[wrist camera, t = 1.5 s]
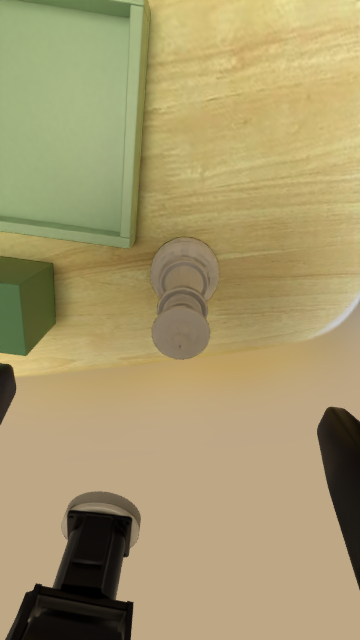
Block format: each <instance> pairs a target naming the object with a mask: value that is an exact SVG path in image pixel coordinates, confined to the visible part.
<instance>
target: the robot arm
mask: <svg viewBox="0 0 360 640" xmlns="http://www.w3.org/2000/svg"><path fill="white" fill-rule="evenodd" d="M15 393H16V383H15V377H14V372H13V367H12V366H11V365H9V364H2V363H0V424H1V423H2V420H3V418H4V416H5V414H6V412H7V410H8V408H9V406H10V404H11V402H12V400H13V398H14V395H15ZM317 435H318V440H319V445H320V450H321V455H322V460H323V465H324V470H325V475H326V480H327V484H328V488H329V492H330V496H331V499H332V502H333V505H334V508H335V512H336V515H337V518H338V521H339V524H340V528H341V531H342V534H343V537H344V541H345V544H346V547H347V551H348V554H349V557H350V560H351V563H352V567H353V570H354V573H355V577H356V579H357V583H358V586H359V589H360V421H359V420H357V419H356V418H355V417H354V416H353V415H351V414H350V413H349V412H348V411H346V410H345V409H343V408H338V407H328V408H327V409H326V411H325V413H324V415H323V417H322V419H321V421H320V423H319V425H318V429H317ZM131 530H132V518H131V517H130V516H123V515H115V514H106V513H97V512H88V511H80V510H69V511H68V514H67V536H68V543H67V546H66V549H65V552H64V555H63V558H62V561H61V564H60V567H59V570H58V573H57V576H56V579H55V582H54V585H53V588H50V587H45V586H42V584H36V585H35V587H34V590H32V591H30V592H26V594H25V596H24V599H23V602H22V604H21V606H20V609H19V611H18V614H17V616H16V618H15V621H14V623H13V625H12V627H11V629H10V631H9V633H8V635H7V637H6V639H5V640H131V628H132V615H133V602H130V601H127V602H123V601H118V600H116V595H117V590H118V584H119V578H120V573H121V567H122V561H123V557H128V556H129V550H130V540H131Z"/></svg>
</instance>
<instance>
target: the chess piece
mask: <svg viewBox="0 0 360 640" xmlns="http://www.w3.org/2000/svg"><path fill="white" fill-rule="evenodd" d="M150 280H151V284H152V287H153V289H154V291H155V293H156V294H157V296H158V297H159V298H160V299H159V302H158V306H157V315H158V316H157V318H156V319H155V321H154V323H153V326H152V339H153V342H154V344H155V346H156V347H157V349H158V350H159V351H160V352H161V353H162V354H164V355H166V356H168V357H170V358H173V359H182V360H184V359H189V358H192V357H195V356H197V355H198V354H200V353H201V352H202V351H203V350H204V349H205V347H206V346H207V344H208V342H209V339H210V328H209V323H208V322H207V320H206V318H207V314H208V307H207V303H206V301H207V300H208V299H209V298H211V296H212V295H213V294H214V292H215V291H216V288H217V285H218V283H219V266H218V261H217V258H216V256H215V254H214V252H213V251H212V250H211V249H210V248H209V246H208V245H206V244H205V243H203V242H202V241H200V240H198V239H195V238H191V237H179V238H175V239H172V240H170V241H168V242H166V243H165V244H164V245H163V246H162V247H161V248H160V249H159V250H158V251H157V253H156V255H155V256H154V258H153V261H152V265H151V270H150Z"/></svg>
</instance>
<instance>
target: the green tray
mask: <svg viewBox="0 0 360 640" xmlns="http://www.w3.org/2000/svg"><path fill="white" fill-rule="evenodd" d="M149 26H150V7H149V3H148V0H0V231H2V232H10V233H17V234H24V235H32V236H39V237H46V238H54V239H61V240H68V241H76V242H83V243H90V244H98V245H105V246H112V247H120V248H127V249H129V248H130V247H131V246H132V245H133V243H134V242H135V237H136V222H137V207H138V192H139V177H140V162H141V147H142V132H143V117H144V101H145V86H146V71H147V56H148V41H149Z"/></svg>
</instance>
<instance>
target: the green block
mask: <svg viewBox="0 0 360 640" xmlns="http://www.w3.org/2000/svg"><path fill="white" fill-rule="evenodd" d="M55 323H56V322H55V302H54V281H53V264H52V263H45V262H38V261H30V260H23V259H16V258H8V257H1V256H0V353H7V354H15V355H23V356H26V355H27V354H28V353H29V352H30V351H31V350H32V349H33V348H34V347H35V346H36V344H37V343H38V342H39V341H40V340H41V339H42V338H43V337H44V336H45V334H46V333H47V332H48V331H49V330H50V329H51V328H52V327H53V326H54V324H55Z"/></svg>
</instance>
